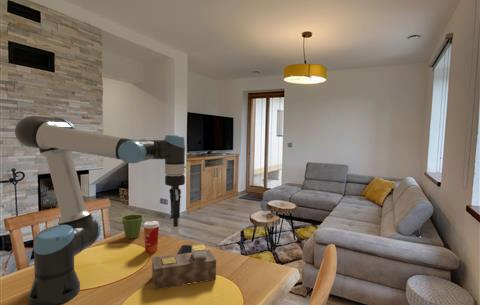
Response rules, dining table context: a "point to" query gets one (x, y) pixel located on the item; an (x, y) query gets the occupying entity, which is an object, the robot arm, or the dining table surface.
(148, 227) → the paper cup
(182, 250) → the phone
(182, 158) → the robot arm
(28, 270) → the dining table surface
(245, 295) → the dining table surface
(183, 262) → the walnut block
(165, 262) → the peg left
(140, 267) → the dining table surface
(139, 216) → the plant pot
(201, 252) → the peg right
